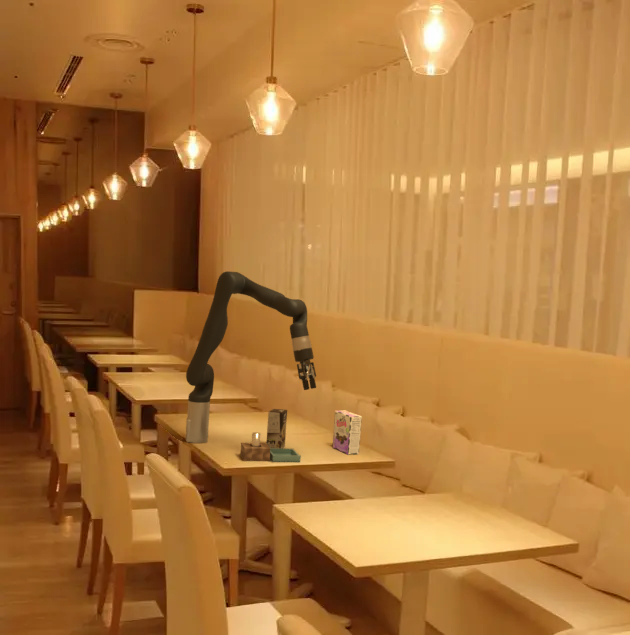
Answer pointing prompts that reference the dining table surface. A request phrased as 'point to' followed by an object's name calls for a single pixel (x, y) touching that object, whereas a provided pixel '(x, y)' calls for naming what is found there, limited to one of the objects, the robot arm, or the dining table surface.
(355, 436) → the candy box
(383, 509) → the dining table surface
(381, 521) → the dining table surface
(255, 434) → the steel pin
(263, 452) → the pin block
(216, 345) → the robot arm
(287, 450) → the tray
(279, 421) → the coffee box
